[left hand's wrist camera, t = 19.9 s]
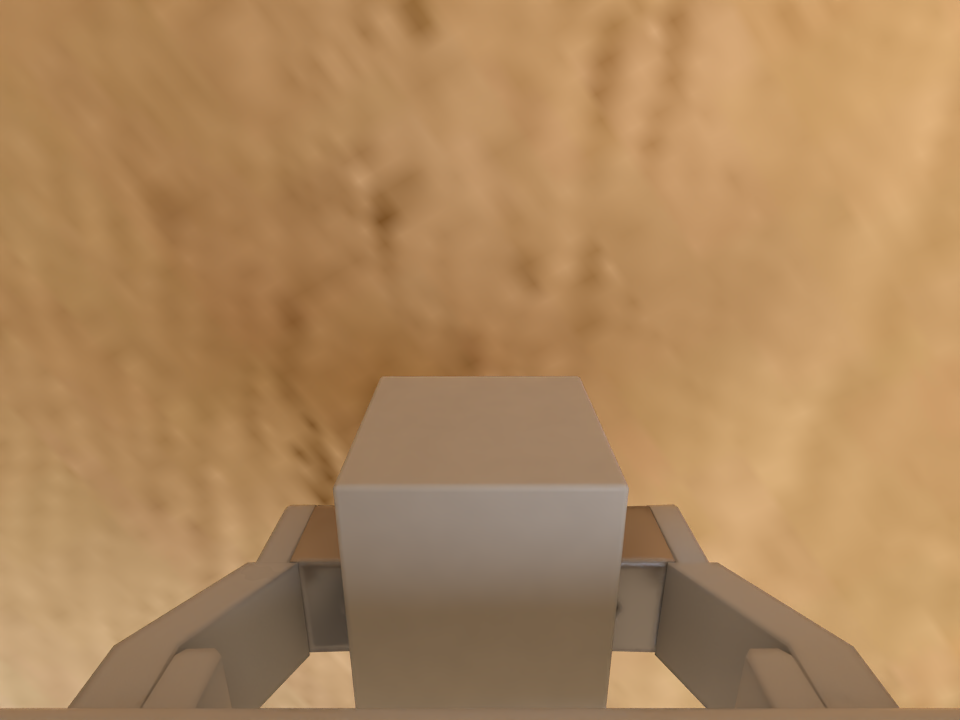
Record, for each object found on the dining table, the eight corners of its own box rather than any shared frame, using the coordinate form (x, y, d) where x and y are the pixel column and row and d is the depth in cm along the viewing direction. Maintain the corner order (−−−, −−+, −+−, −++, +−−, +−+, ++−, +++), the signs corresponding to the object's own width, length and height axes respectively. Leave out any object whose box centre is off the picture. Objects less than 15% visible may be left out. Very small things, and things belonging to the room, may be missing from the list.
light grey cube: (568, 560, 13) (605, 730, 9) (392, 560, 13) (355, 730, 9) (580, 374, 11) (630, 486, 8) (380, 374, 11) (330, 487, 8)
